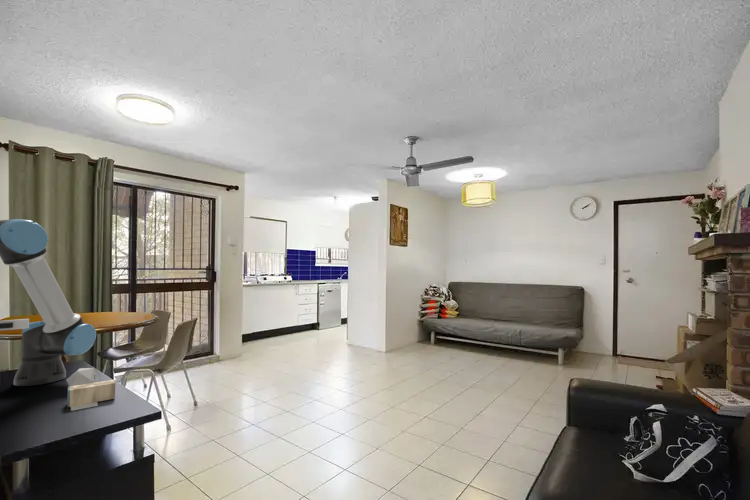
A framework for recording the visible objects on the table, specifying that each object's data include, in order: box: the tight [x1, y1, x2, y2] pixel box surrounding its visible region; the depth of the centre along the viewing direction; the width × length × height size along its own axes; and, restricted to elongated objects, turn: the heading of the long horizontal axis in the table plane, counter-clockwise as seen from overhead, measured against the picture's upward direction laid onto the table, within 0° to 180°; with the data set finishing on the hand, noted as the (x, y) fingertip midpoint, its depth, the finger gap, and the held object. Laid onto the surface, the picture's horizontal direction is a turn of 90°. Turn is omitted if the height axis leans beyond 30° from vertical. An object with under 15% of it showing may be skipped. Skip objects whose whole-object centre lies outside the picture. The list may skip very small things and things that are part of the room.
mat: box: [70, 402, 99, 412], centre depth 119 cm, size 12×6×1 cm, turn 40°
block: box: [66, 379, 116, 408], centre depth 120 cm, size 5×5×12 cm
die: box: [65, 367, 101, 387], centre depth 131 cm, size 8×9×10 cm
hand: (28, 323), depth 111 cm, fingers closed
